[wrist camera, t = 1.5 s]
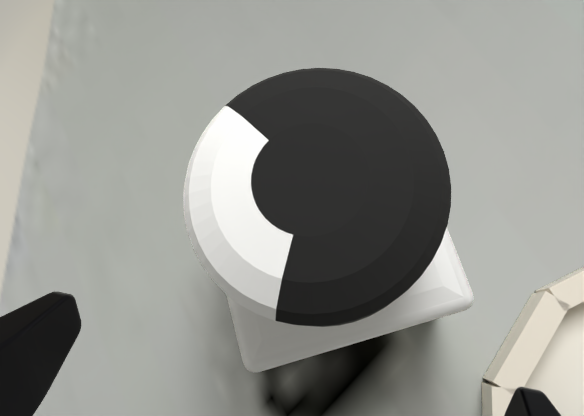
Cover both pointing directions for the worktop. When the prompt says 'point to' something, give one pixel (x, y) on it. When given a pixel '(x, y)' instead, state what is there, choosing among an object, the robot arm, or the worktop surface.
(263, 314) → the medicine bottle
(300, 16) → the worktop surface
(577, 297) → the coaster
